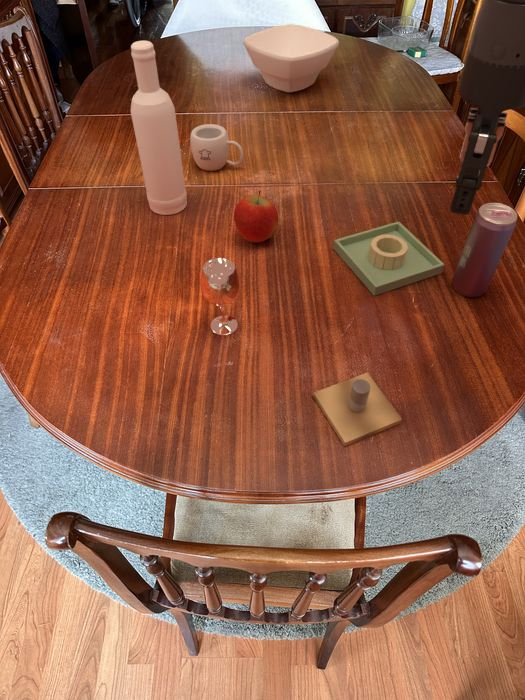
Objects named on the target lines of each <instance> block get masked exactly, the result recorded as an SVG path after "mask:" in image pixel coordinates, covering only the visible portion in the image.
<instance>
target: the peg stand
mask: <svg viewBox="0 0 525 700" xmlns="http://www.w3.org/2000/svg"><path fill="white" fill-rule="evenodd" d="M312 398H313V399H314V400H315V402H316V404H317V405H318V407H319V408H320V410H321V412H322V413H323V415H324V416H325V418H326V420H327V421H328V423H329V424H330V426H331V428H332V429H333V431H334V433H335V434H336V436H337V437H338V439H339V440H340V442H341V444H342V445H343V447H347V446H349V445H352V444H354V443H357V442H359V441H361V440H364V439H367V438H368V437H371V436H373V435H376V434H378V433H380V432H383V431H385V430H388V429H391V428H392V427H395V426H397V425H400V424H401V423H402V421H403V418H402V417H401V416H400V414H399V413H398V411H397V410H396V408H394V407H395V406H393V404H392V403H391V402H390V401H389V399H388V398H387V396H386V395H385V394H384V393H383V391H382V390H381V388H380V387H379V385H378V384H377V383H376V382H375V380H374V379H373V378H372V376H371V375H370V374H369V372H364V373H361V374H359V375H356V376H354V377H351V378H349V379H346V380H343V381H341V382H338V383H336V384H332V385H330V386H327V387H324V388H322V389H319V390H316V391H313V392H312Z"/></svg>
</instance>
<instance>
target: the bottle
mask: <svg viewBox="0 0 525 700" xmlns="http://www.w3.org/2000/svg"><path fill="white" fill-rule="evenodd" d="M154 47H155V46H154V44H153V43H152V42H151V41H150V40H137V41H134V42H133V43H132V44H131V45H130V49H131V52H130V54H131V58H132V60H133V67H134V71H135V77H136V84H137V88H138V89H137V90H136V92H135V93H134V95H133V96H132V98H131V104H130V115H131V121H132V125H133V131H134V135H135V140H136V145H137V150H138V155H139V162H140V165H141V171H142V176H143V181H144V185H145V191H146V199H147V202H148V205H149V208H150V209H149V210H151V211H152V212H153V213H155V214H158V215H161V216H171V215H172V216H173V215H175V214H178V213H180V212H183V210H185V208H186V207H187V206H188V205H187V204H188V198H187V197H188V194H187V189H186V184H185V177H184V168H183V161H182V154H181V153H182V152H181V145H180V138H179V130H178V123H177V115H176V108H175V105H174V103H173V101H172V99H171V97H170V95H169V93H168V92H166V90H164V89H163V88H161V86H160V81H159V74H158V67H157V60H156V51H155V48H154Z"/></svg>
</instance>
